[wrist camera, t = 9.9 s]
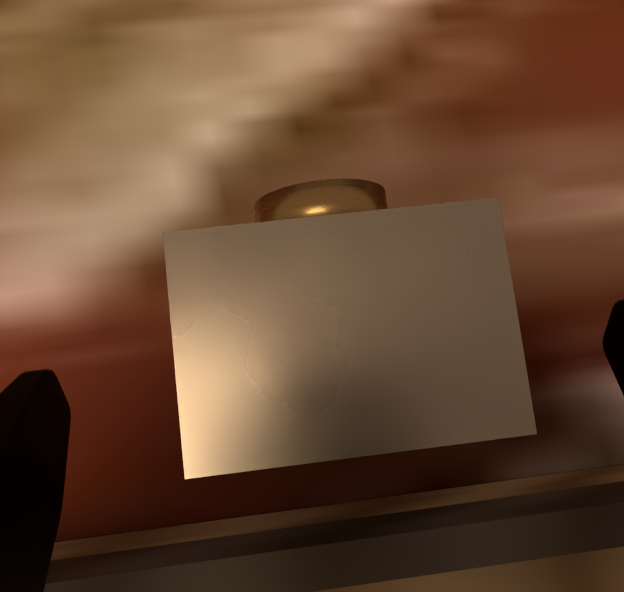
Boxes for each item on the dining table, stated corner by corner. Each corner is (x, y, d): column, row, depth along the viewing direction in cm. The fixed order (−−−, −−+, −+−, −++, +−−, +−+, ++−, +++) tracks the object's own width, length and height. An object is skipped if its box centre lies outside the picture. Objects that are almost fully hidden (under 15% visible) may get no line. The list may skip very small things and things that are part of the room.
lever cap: (401, 401, 18) (537, 433, 8) (240, 421, 18) (184, 478, 8) (383, 265, 19) (490, 146, 9) (226, 282, 19) (157, 178, 9)
